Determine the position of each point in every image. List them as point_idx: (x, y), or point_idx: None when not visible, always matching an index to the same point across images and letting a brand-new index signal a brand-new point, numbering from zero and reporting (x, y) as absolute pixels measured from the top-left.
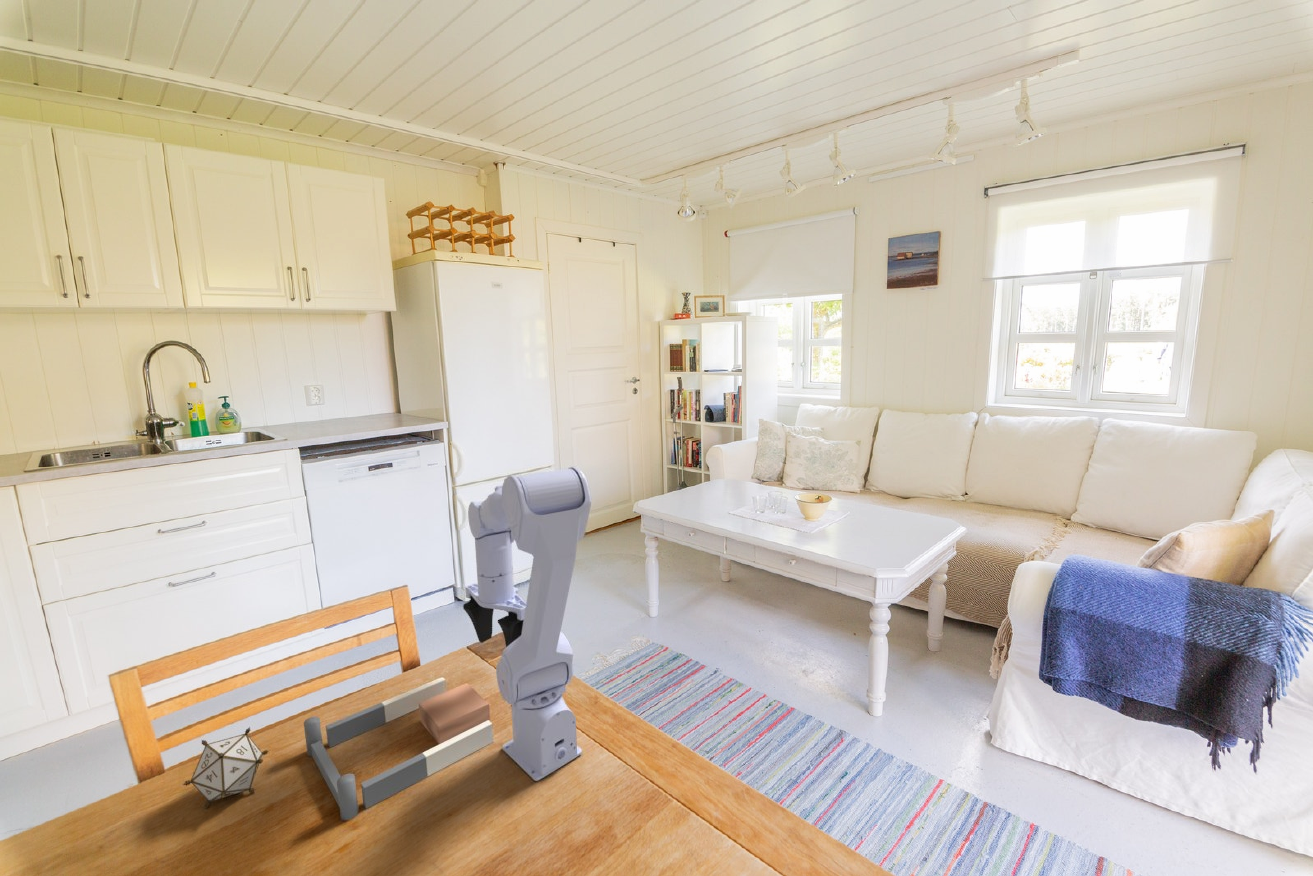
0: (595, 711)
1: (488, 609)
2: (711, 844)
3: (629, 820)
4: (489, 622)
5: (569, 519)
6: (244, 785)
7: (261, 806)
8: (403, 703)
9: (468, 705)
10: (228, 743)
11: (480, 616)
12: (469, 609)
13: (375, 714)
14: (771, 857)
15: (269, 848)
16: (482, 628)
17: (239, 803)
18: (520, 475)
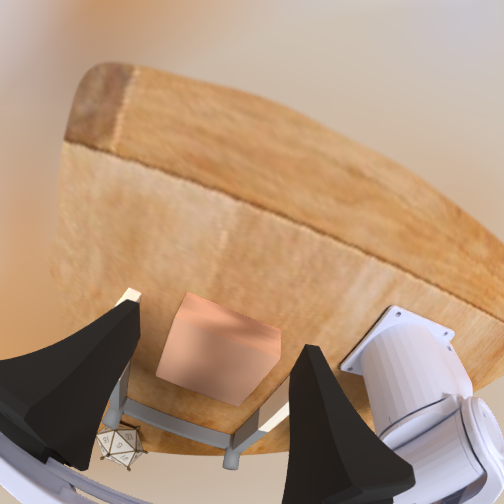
0: (462, 238)
1: (72, 402)
2: None
3: (487, 366)
4: (105, 352)
5: None
6: (138, 438)
7: (160, 433)
8: None
9: (242, 369)
10: (113, 459)
11: (92, 413)
12: (84, 470)
13: (122, 381)
14: None
15: (209, 451)
16: (115, 367)
17: (143, 431)
18: None
